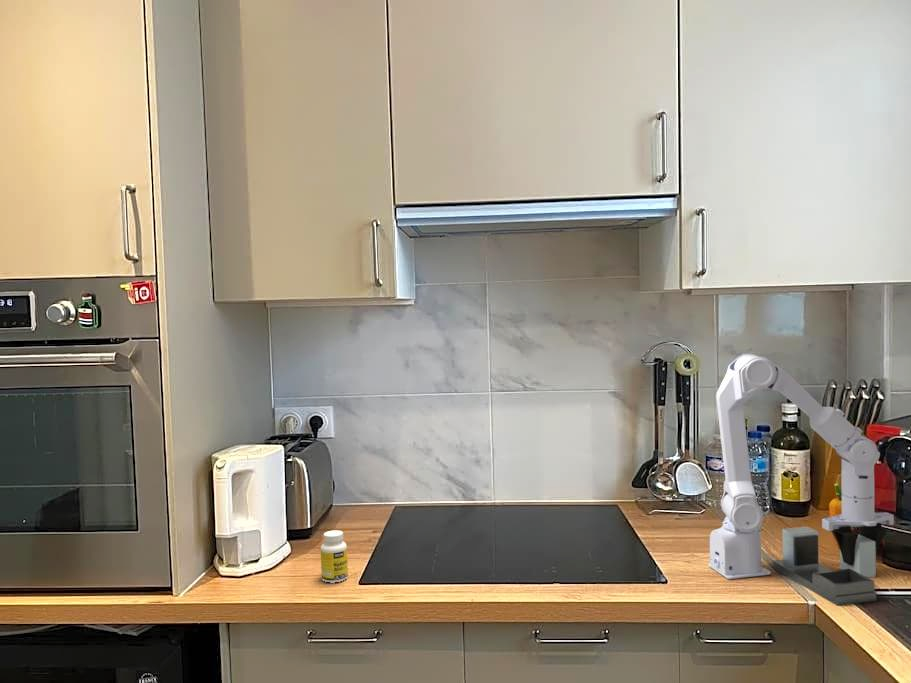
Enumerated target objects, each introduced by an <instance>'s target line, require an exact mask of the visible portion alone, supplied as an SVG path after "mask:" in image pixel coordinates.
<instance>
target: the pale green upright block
mask: <svg viewBox="0 0 911 683" xmlns="http://www.w3.org/2000/svg"><path fill="white" fill-rule="evenodd" d="M857 534H858V537H857V540H856V544H855V557H854V564H853V565H849V564H847V563H845V562H843V558H842V554H841V551H840V550H839V561H840V562H839V567H840V568H839V570H842V569H852V570H854V571H856V572H857V573H859V574H861V575H863V576H865V577H867V578H874V577H876V575H877V574H876V573H877V552H876V544H875V541H873V540H871V539H868V538H866V537H864V536H861V534H860V533H857Z"/></svg>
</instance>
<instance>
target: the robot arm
mask: <svg viewBox="0 0 911 683" xmlns="http://www.w3.org/2000/svg"><path fill="white" fill-rule="evenodd" d="M765 389H769V390H772V391H775V392H780V394H782V395H783V396H784V397H786V398H787V400H789V401H790V402H791V403H792V404H793V405H795V407H797V408H798V409H799V410H801V411H802V412H803V413H804V414H805V415H806V416H807V417H808V418H809V426H810V428H811V429H812V430H813V431H814V432H816V434H818V435H819V436H820V437H821V438H822V439H823V440H824V441H825V442H826V443H827V444H828V445H830V446H831V447H832V448H833V449H834V450H835V451H836V454H837V455H838V457H841V471H840V473H841V476H840V477H841V479H840V480H841V486H840V487H841V489H842V514H840V515H836V516H833V517H830V516H829V517H826V518H821V528H822V529H823V530H824V531H825V530H826V531H827V532H831V533H833V534H832V536H833V535H834V537H835V539H836V541H837V543H838V545H839V548H840V549H839V548H838V549H839V552H840V551H841V554H842V558H843V562H845V563H847V564H849V565H853V564H854V557H855V544H856V540H857V537H858V534H859V535H861V536H864V537H866V538H868V539H871V540H873V541H875V544H876V553H878V548H879V546H880V544H881V542H882V541H883V539H884V538H885V537H886V535H887V532H888V531H887V527H884V526H882V525H889V526H893V525H894V524H895V519H894V515H895V514H892V513H889V512H886V511H885V512H875V465H876V464H877V462H878V461H879V459H880V456H881V452H880V451H878V446H877V445H876V443H875V442H874V441H873V440H871V439H870V438H867V437H865V436H863V435H862V433H863V430H862V429H861V428H860V427H858V426H854V425H853V423H851V422H849V420H847V418H845V417H844V416H845V412H844V411H842V410H841V409H839V408H834V407H833V406H822V405H821V404H820V403H819V402H818V401H817V400H816V399H815V398H814V397H813V396H812V395H811V394H810V393H809V392H808V391H807V390H806V389H805V388H804V387H803V386H801V385H800V383H799V382H798V381H796V379H795V378H794V377H792V376H791V375H790V374H789V373H788V372H787V371H786V370H784V369H783V368H781V367H780V366H778V365H776V364H774V362H772V360H770V359H768V358H767V357H764V356H759V355H756V354H753V353H744V354H741V355H739V356H738V357H736V359H734V360H733V361H732V362H731V363H730V364H729V365H728V366H727V371H726V373H725V375H724V378H723V379H722V382H721V384H720V386H719V388H718V389H717V391H716V394H715V400H716V408H717V417H718V418H717V419H718V426H719V434H720V443H721V451H722V452H721V453H722V459H723V460H722V462H723V470H724V478H725V480H724V482H723V495H722V497H721V500H720V507H721V510H722V513H723V514H724V515H725V518H724V519H723V521H722V526H721V527H719V528H717V529H713V530H712V531H711V532H710V534H709V562H708V565H707V566H708V567H710V568H711V569H713V570H714V571H716V572H717V573H719V574H720V575H722V577H724V578H726V579H728V580H733V579H741V578H751V577H761V576H766V575H767V576H769V575H772V572H771V571H770V570H768V569H767V568H765V567H763V566H762V533H761V532H762V530H761V525H762V523H763V520H764V513H763V510H762V508H761V506H760V505H759V503H758V501H757V495H756V492H755V488H754V485H753V482H752V473H751V472H752V471H751V465H750V455H749V446H748V439H747V438H748V436H747V429H746V428H747V427H746V420H745V410H744V404H745V403H746V402H747V401H748V400H749V399H750V398H752V396H754V394H756V393H758V392H760V391H763V390H765ZM851 527H854V528H858V529H859V533H856V532H855V531H853V532H852V530H851ZM834 537H833V538H834Z"/></svg>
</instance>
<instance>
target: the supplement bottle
mask: <svg viewBox="0 0 911 683" xmlns="http://www.w3.org/2000/svg"><path fill="white" fill-rule="evenodd" d="M343 540H344V532H343V531H342V530H335V529H334V530H329V531H326V532H324V533H323V541H324V542H323V543H322V544H321V545H320V563H321V564H320V566H321V580H322V582H324V581H325V582H324V583H326V582H330V583H329V584H336V583H335V582H339V583H341V582H340V581H342V582H344V581H346V580H347V579H348V576H349V574H348V573H349V572H348V547H347V543H346V542H345V541H343ZM345 579H346V580H345ZM343 580H344V581H343Z"/></svg>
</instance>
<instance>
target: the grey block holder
mask: <svg viewBox="0 0 911 683" xmlns="http://www.w3.org/2000/svg"><path fill="white" fill-rule="evenodd" d="M781 535H782V537H781V538H782V559H776V560H772V568H773V569H774V570H775V571H777V572H779V573H780V574H782V575H784V576H786V577H787V578H789V579H791V581H792V580H793V581H794V582H796V583H797V584H799V585H800V586H802V587H804V588H807V589H808V590H810V591H811V592H813V593H815V594H817V595H818V596H819V597H821V598H824V599H825V600H826V601H829V602H830V603H832V604H834V605H836V606H842V605H852V604H859V603H867V602H868V603H869V602H877V592H876V591H875V580H873V579H871V578H870V577H865V576H863V575H861V574H859V573H857V572H856V571H854V570H852V569H835V570H834V569H832V568H830V567H828V566H826V565H824V564H822V563H820V560H819V556H820V555H819V554H820V552H819V531H817V530H816V529H814V528H811V527H810V526H798V527H789V528H782V533H781Z"/></svg>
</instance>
